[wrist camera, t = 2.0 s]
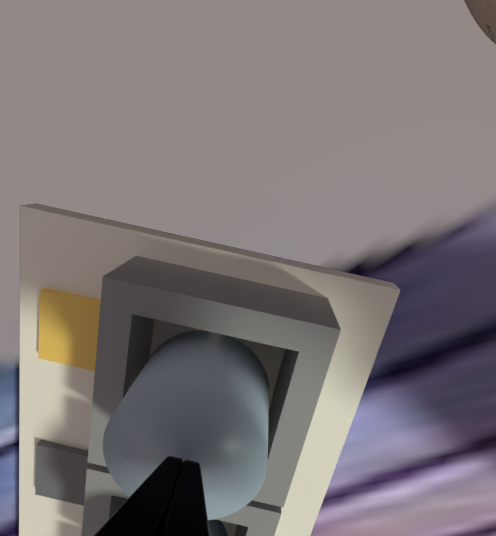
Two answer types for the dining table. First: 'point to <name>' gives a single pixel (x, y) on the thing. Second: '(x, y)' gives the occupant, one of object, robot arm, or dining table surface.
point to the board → (161, 329)
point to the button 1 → (195, 419)
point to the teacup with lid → (484, 15)
